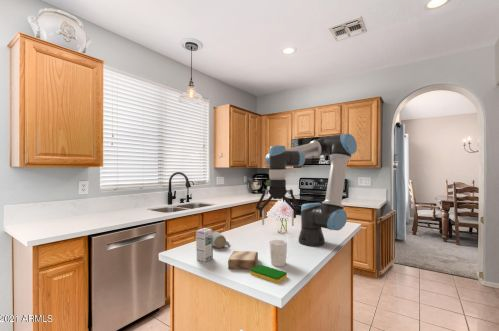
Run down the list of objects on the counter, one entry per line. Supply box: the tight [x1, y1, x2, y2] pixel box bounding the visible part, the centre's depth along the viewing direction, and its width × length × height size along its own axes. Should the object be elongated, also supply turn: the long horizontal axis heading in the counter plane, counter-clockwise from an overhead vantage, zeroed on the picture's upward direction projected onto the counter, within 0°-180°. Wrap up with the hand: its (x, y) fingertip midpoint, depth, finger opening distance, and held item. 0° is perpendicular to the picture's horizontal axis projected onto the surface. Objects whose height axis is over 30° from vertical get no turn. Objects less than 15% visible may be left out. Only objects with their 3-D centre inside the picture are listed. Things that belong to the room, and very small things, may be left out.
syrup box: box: [195, 227, 214, 263], centre depth 121 cm, size 6×6×14 cm
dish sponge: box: [250, 264, 288, 284], centre depth 102 cm, size 7×14×2 cm, turn 51°
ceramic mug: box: [212, 231, 230, 249], centre depth 141 cm, size 11×8×8 cm
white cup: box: [269, 239, 288, 267], centre depth 114 cm, size 8×8×10 cm
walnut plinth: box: [227, 250, 259, 271], centre depth 114 cm, size 12×12×4 cm
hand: (277, 224), depth 114 cm, fingers open, 13 cm apart
